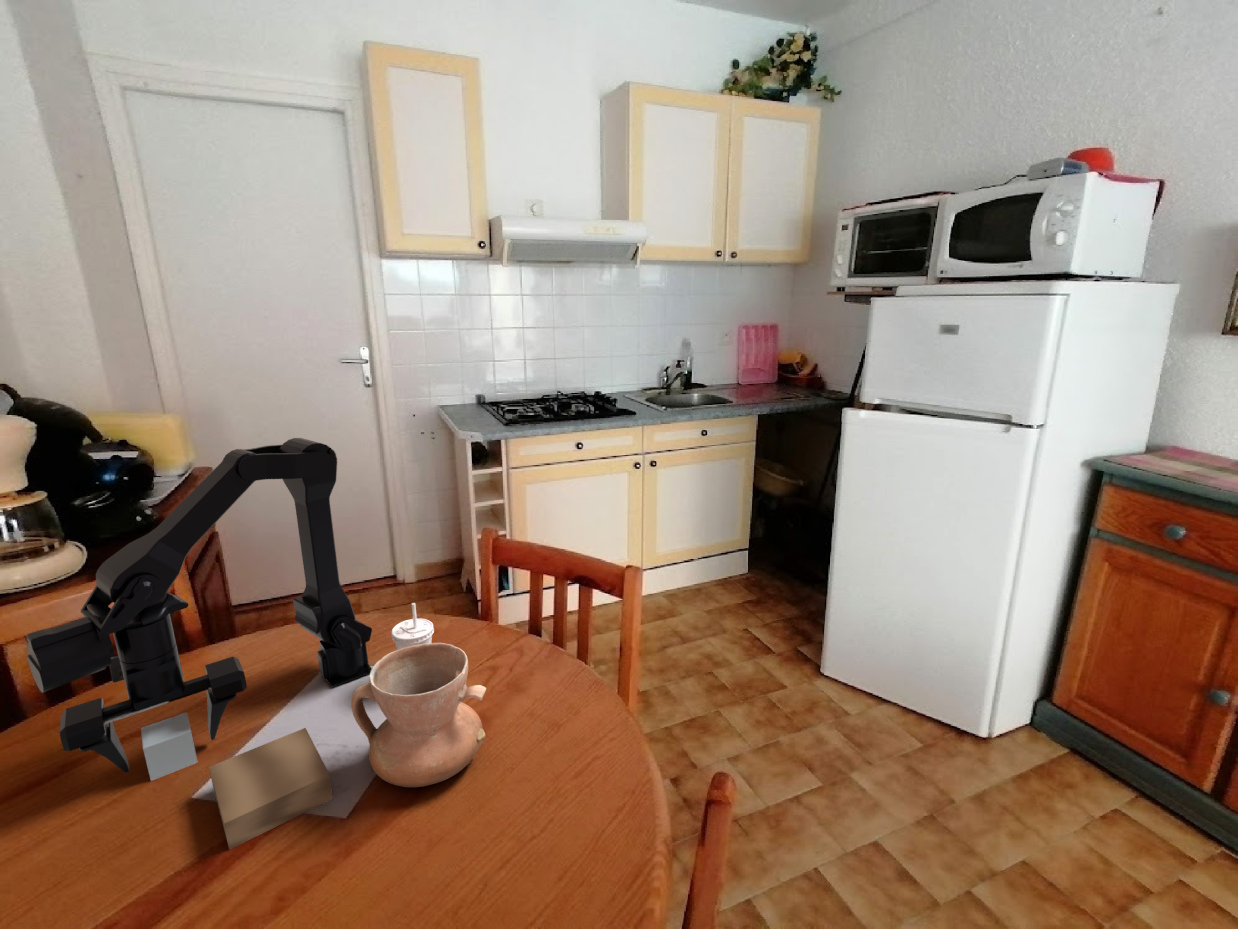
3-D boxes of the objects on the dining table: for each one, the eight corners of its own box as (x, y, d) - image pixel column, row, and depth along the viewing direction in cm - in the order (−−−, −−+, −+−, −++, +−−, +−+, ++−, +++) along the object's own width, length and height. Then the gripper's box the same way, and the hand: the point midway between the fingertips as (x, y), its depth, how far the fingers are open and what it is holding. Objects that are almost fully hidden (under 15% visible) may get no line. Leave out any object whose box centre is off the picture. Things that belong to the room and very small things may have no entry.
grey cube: (193, 742, 83) (186, 712, 82) (197, 763, 80) (191, 731, 78) (148, 759, 80) (140, 728, 79) (150, 781, 77) (143, 749, 75)
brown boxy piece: (309, 752, 82) (305, 727, 81) (333, 801, 74) (329, 774, 73) (214, 793, 75) (209, 766, 74) (229, 852, 67) (224, 823, 66)
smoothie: (425, 696, 93) (418, 615, 90) (388, 690, 95) (379, 611, 91) (445, 672, 99) (439, 596, 96) (410, 667, 101) (402, 592, 97)
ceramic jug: (505, 725, 87) (498, 638, 83) (473, 805, 73) (464, 704, 69) (385, 720, 88) (375, 634, 85) (332, 797, 74) (316, 697, 71)
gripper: (224, 604, 87) (241, 696, 91) (51, 649, 76) (79, 753, 80) (238, 635, 79) (256, 735, 83) (46, 692, 67) (78, 805, 72)
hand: (171, 754), depth 80 cm, fingers open, 9 cm apart
